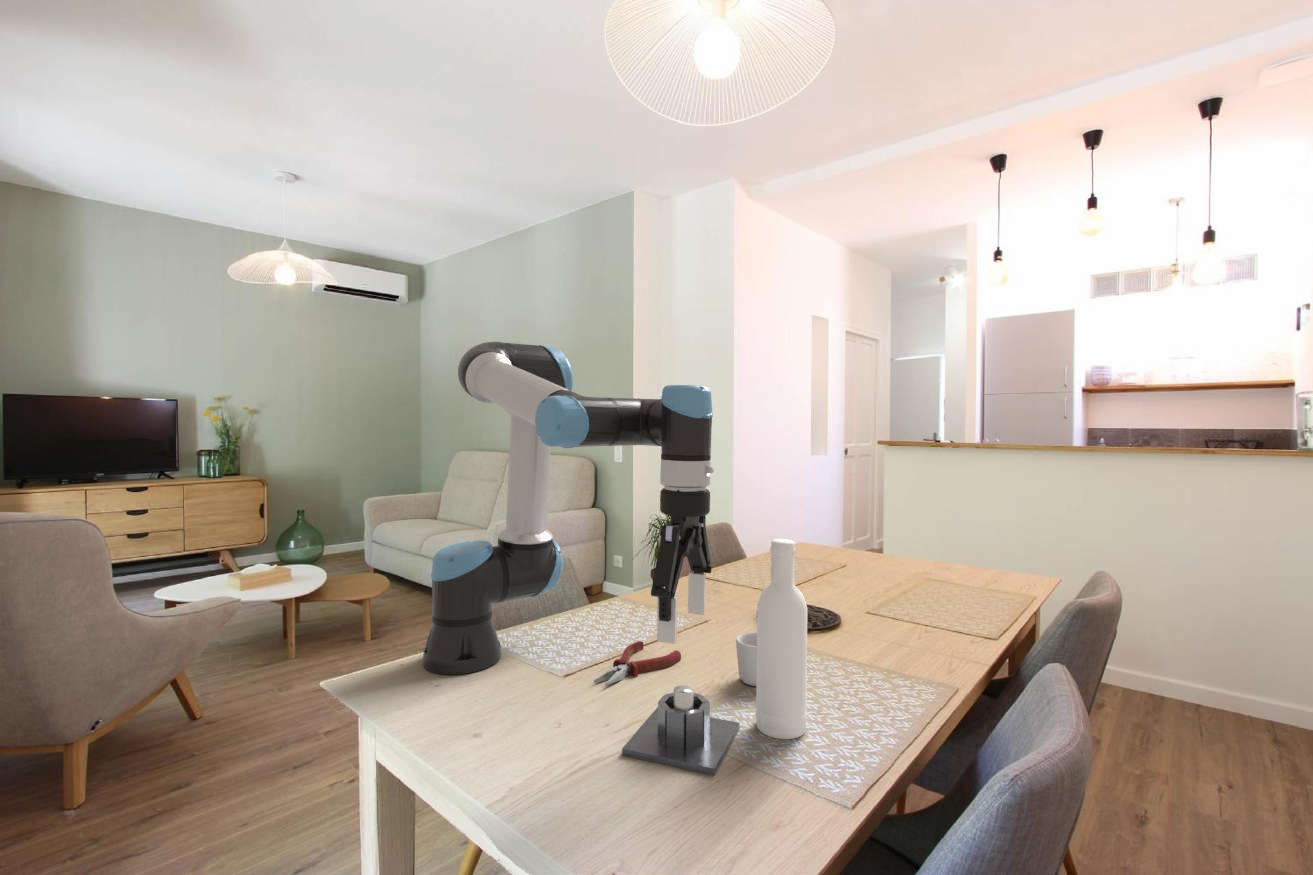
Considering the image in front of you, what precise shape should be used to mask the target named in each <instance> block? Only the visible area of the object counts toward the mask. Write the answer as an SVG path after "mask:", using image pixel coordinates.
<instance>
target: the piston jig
mask: <svg viewBox="0 0 1313 875" xmlns="http://www.w3.org/2000/svg"><path fill="white" fill-rule="evenodd" d="M694 691H695V690H694V688H693V687H691V686H689V685H686V684H685V685H683V684H681V685H677V686H675V687H674V688H673V693H674V709H675V710H680V711H690V710H693V694H694V693H695V692H694ZM740 727H741V725H740V722H737V721H733V720H728V719H727V720H726V719H723V718H722V719H721V718H717V717H716V718H715V717H711V716H710V736H709V737H708V739H707V740H706V742H705V743H704V744H703V745H700V746H695V747H691V748H685V747H684V748H679V747H675V746H670V745H667V744H665V743H664V742H663V741H662V740H661V738H660V737H659V736H658V706H657V707H656V709H654V711H653V712H652V713H651V714H650V715H649V716H648V717H647V719H646V720H645V721H644V722H643V723H642V725H641V726H640V727H639V728H638V729H637V730H636V731H635V733H634V734H633V735H632V736H631V737H630V738H629V740H627V742H626V743H625V744H624V745H623V747H622V748H621V754H622V756H626V757H630V758H635V759H639V760H643V761H647V762H650V763H651V762H652V763H656V764H660V765H665V766H669V767H674V768H679V769H683V770H687V771H692V772H696V773H700V774H705V775H709V776H713V777H714V776H716V774H717V772H718V770H719V768H720V766H721V764H722V763H723V761H724V759H725V757H726V755H727V753H728V751H729V749H730V748H731V745H732V744H733V742H734V740H735V738H736V736H737V735H738V732H739V731H740Z"/></svg>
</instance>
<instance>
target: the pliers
mask: <svg viewBox="0 0 1313 875" xmlns="http://www.w3.org/2000/svg"><path fill="white" fill-rule="evenodd" d="M643 650H644V642H643V641H642V640H637V641H636V642H633V643H631V644H629V645H627V646H626V647H625V649H624V650H623V653H622V656H621V658H618V659H617V658H616V659H615V660H614V661H613V663H612V664H613V667H611V668H609V669H608V670H607V671H605V672H603V673H602V674H601V675H600V676H598V677H596V679H594V680H593V683H594V684H595V683H596V684H597V683H599V682H601V683H602V682H605V681H606V683H605V686H609V685H612V684H614V683H617V682H620V681H622V680H624V679H626V677H627V676H633V677H634V678H635V677H636V678H637V677H638V676H639V674H642V673H647V672H652V671H653V672H654V671H656V670H657V671H658V670H662V669H667V668H670V667H672V666H674V665H676V664H677V663H679V662H680V661H681V659H682V654H681V652H680V651H679V650H676V649H675V650H673V651H672V652H670V653H669V654H667V655H663V656H659V657H658V656H657V657H653V658H646V659H641V660H637V661H633V660H632V661H630V659H631V657H632V656H633V655H635V654H637V653H639V652H641V651H643Z"/></svg>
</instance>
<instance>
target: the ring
mask: <svg viewBox="0 0 1313 875" xmlns="http://www.w3.org/2000/svg"><path fill="white" fill-rule="evenodd" d="M710 705H711V702H710V701H709V700H708V699H707V698H706V697H705V696H704V695H703V694H701V693H698V692H697V693H696V692H694V694H693V710H690V711H680V710H675V709H674V692H669V693H665V694H664V695H663V696H662V697H661V698H660V699H659V700H658V701H657V707H658V736H659V737H660V738H661V740H662V741H663V742H664V743H665V744H667V745H670V746H675V747H679V748H684V747H685V748H691V747H695V746H700V745H703V744H704V743H705V742H706V740H707V739H708V737H709V736H710V717H711V715H710V714H711V713H710V712H711V710H710V709H711V706H710Z"/></svg>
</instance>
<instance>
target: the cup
mask: <svg viewBox="0 0 1313 875" xmlns="http://www.w3.org/2000/svg"><path fill="white" fill-rule="evenodd" d="M735 645H736V646H735V647H736V655H737V656H736V657H737V667H738V676H739V678H740V681H741V682H742V683H745V684H746V685H749V686H752V687H757V632H744V633H741V634H739V635H737V636H736V638H735Z"/></svg>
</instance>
